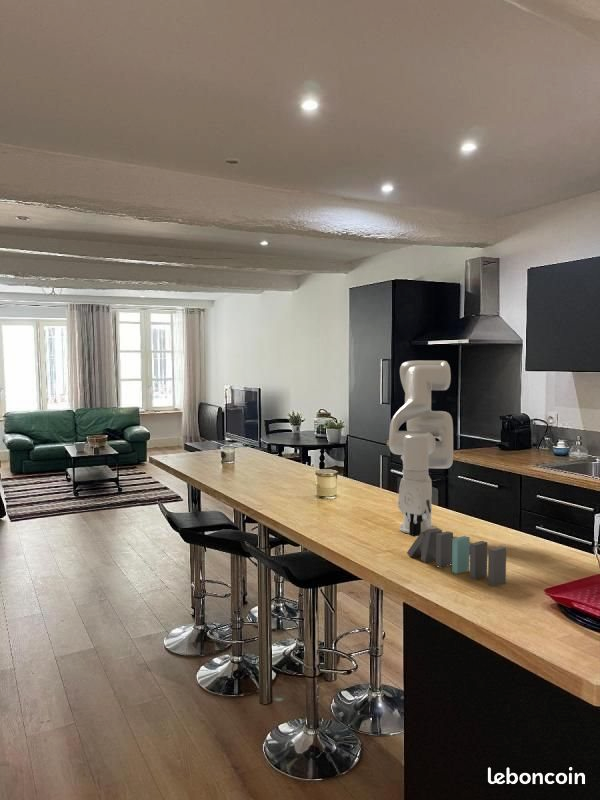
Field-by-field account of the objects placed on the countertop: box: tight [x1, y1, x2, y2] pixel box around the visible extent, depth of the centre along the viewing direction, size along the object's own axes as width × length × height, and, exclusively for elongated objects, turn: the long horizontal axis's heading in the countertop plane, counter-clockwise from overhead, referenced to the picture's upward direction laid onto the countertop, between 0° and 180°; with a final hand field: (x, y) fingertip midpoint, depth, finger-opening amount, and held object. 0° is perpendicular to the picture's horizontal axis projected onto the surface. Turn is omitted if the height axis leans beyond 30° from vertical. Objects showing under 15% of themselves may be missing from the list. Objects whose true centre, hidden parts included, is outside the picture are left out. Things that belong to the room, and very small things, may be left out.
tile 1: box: [406, 531, 426, 558], centre depth 182 cm, size 2×5×10 cm
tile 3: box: [435, 530, 454, 568], centre depth 175 cm, size 2×5×10 cm, turn 125°
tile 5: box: [469, 540, 488, 581], centre depth 165 cm, size 2×5×10 cm, turn 125°
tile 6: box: [487, 545, 507, 588], centre depth 160 cm, size 2×5×10 cm, turn 125°
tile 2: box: [420, 527, 443, 563], centre depth 179 cm, size 2×5×10 cm, turn 125°
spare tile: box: [451, 535, 471, 574], centre depth 170 cm, size 2×5×10 cm, turn 125°
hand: (415, 535), depth 184 cm, fingers closed
